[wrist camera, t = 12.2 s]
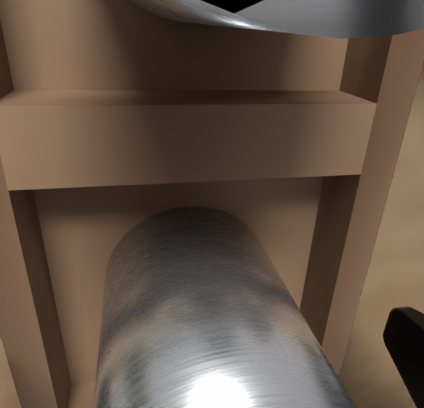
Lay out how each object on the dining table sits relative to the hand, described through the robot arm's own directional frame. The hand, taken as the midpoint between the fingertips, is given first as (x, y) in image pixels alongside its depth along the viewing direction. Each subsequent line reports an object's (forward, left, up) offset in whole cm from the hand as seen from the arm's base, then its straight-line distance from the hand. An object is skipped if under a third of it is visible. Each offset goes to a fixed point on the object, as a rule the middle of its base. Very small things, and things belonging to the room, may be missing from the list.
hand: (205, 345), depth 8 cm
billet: (0, 0, -2) cm, 2 cm away
